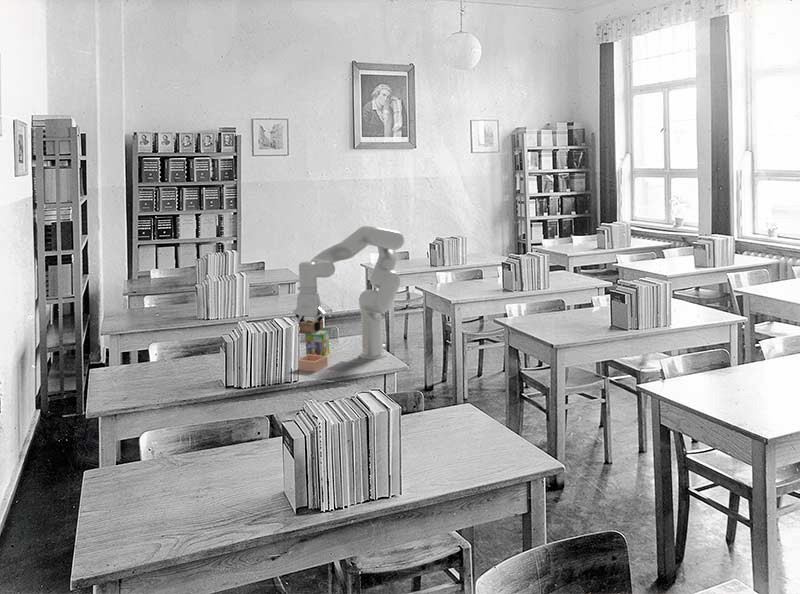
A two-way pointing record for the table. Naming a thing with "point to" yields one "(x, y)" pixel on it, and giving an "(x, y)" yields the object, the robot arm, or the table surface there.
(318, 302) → the robot arm
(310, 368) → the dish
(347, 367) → the mat
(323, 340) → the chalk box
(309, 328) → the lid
